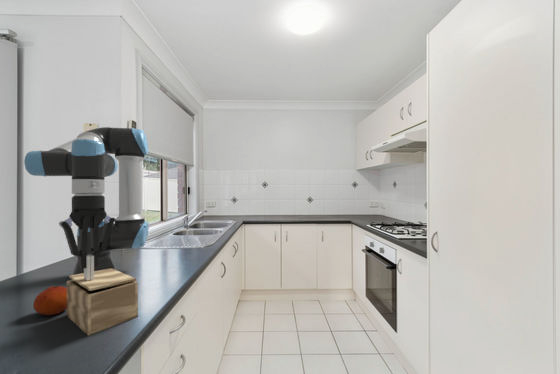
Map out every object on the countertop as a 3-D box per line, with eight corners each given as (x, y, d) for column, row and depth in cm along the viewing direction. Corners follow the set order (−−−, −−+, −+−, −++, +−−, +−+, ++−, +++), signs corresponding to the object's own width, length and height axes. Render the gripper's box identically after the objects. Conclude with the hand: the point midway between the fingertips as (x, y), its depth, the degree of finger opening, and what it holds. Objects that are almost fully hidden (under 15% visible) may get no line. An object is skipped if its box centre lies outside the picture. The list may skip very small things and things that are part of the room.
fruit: (80, 307, 82) (80, 281, 82) (49, 321, 73) (49, 292, 73) (58, 305, 84) (58, 280, 84) (26, 318, 75) (25, 290, 75)
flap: (69, 277, 77) (69, 275, 77) (111, 270, 86) (111, 268, 86) (89, 290, 66) (89, 288, 66) (135, 280, 75) (135, 278, 75)
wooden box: (66, 315, 76) (66, 281, 77) (112, 301, 86) (112, 270, 86) (88, 335, 66) (87, 295, 66) (137, 316, 75) (137, 281, 75)
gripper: (62, 195, 66) (63, 288, 66) (119, 194, 77) (120, 275, 76) (54, 195, 71) (55, 282, 70) (109, 194, 81) (110, 270, 81)
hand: (88, 278), depth 73 cm, fingers closed
